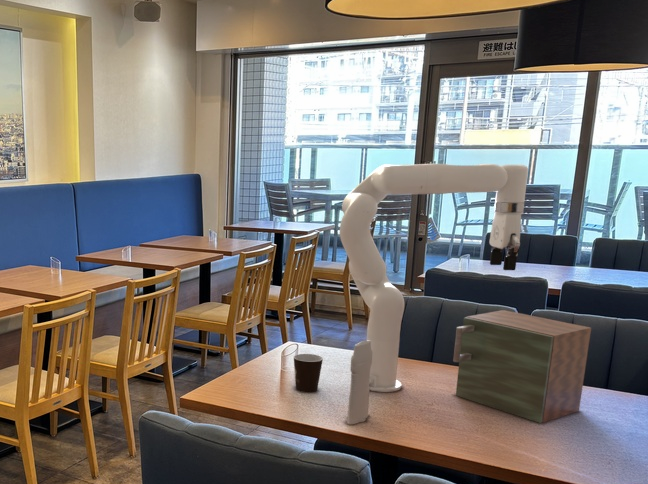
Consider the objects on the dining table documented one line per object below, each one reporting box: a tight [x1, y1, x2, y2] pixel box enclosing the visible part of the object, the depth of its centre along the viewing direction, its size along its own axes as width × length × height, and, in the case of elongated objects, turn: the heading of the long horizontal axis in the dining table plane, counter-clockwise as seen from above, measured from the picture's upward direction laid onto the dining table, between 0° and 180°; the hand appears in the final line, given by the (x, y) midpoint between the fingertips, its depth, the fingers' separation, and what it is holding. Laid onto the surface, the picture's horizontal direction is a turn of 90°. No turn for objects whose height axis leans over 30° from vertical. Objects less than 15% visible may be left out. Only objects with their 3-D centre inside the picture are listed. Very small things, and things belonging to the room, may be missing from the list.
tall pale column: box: [346, 339, 373, 425], centre depth 192 cm, size 11×4×22 cm, turn 136°
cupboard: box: [466, 309, 592, 423], centre depth 204 cm, size 17×26×24 cm, turn 30°
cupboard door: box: [452, 316, 554, 424], centre depth 198 cm, size 7×26×24 cm, turn 30°
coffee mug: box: [293, 353, 324, 393], centre depth 220 cm, size 12×9×10 cm
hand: (502, 267), depth 211 cm, fingers open, 9 cm apart
